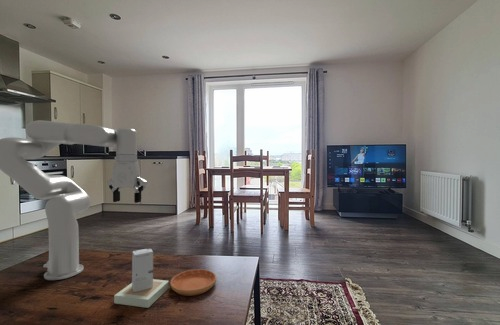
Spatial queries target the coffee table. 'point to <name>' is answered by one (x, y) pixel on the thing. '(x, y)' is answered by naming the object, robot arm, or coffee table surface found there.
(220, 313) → the coffee table surface
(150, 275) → the skincare box
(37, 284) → the coffee table surface
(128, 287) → the picture frame
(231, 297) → the coffee table surface
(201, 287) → the saucer
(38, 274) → the coffee table surface
